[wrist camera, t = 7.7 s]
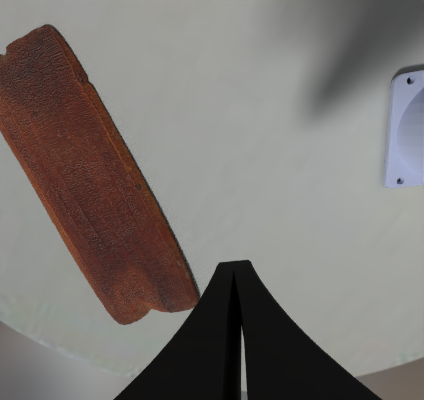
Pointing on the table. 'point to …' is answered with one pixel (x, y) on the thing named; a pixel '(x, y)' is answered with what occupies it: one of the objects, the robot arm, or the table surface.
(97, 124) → the wooden tablet
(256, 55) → the table surface
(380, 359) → the table surface
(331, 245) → the table surface
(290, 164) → the table surface
